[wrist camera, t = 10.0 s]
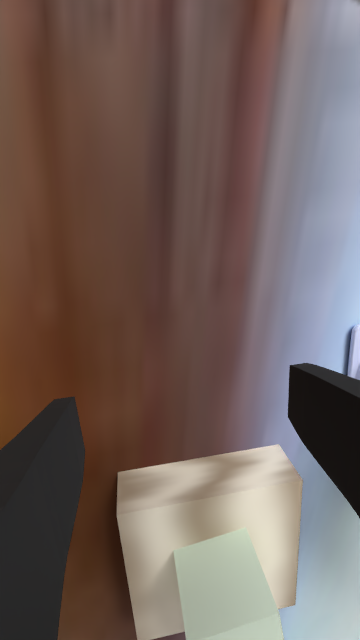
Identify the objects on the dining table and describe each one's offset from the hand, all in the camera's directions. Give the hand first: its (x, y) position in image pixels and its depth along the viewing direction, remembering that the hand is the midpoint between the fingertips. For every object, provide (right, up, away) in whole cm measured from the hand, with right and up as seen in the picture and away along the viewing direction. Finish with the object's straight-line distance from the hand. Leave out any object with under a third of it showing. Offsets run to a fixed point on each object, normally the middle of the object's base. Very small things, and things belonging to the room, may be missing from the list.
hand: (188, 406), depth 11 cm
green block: (+2, -14, +12) cm, 18 cm away
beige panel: (+2, -13, +15) cm, 20 cm away
